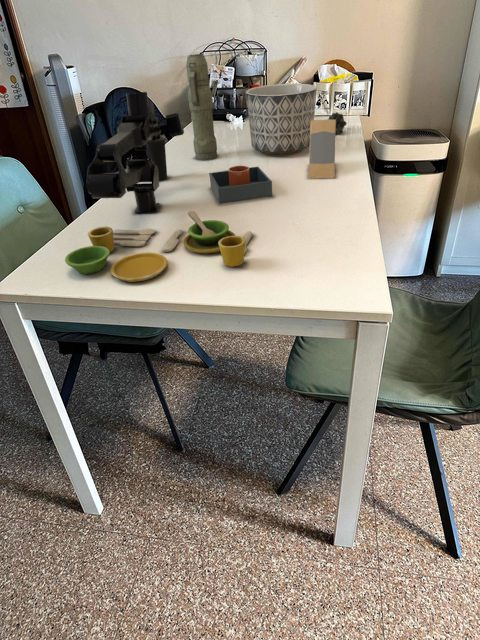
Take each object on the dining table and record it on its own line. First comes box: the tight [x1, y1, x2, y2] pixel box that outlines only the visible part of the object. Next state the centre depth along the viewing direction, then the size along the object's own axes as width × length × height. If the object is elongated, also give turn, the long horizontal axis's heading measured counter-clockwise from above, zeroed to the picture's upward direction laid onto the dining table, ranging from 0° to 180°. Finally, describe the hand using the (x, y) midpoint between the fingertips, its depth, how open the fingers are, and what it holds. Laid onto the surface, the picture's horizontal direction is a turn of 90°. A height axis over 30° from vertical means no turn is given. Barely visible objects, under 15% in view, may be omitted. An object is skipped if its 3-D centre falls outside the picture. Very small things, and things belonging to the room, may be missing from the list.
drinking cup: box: [145, 134, 168, 182], centre depth 152 cm, size 8×8×20 cm
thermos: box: [185, 53, 218, 161], centre depth 167 cm, size 9×12×35 cm
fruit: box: [327, 112, 348, 135], centre depth 194 cm, size 9×8×15 cm
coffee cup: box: [227, 165, 250, 186], centre depth 138 cm, size 6×6×7 cm
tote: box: [208, 166, 273, 205], centre depth 139 cm, size 16×16×5 cm
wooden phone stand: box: [308, 119, 337, 179], centre depth 148 cm, size 9×15×15 cm, turn 172°
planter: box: [245, 83, 318, 157], centre depth 171 cm, size 26×26×22 cm
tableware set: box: [64, 209, 254, 283], centre depth 106 cm, size 41×28×6 cm
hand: (160, 128), depth 145 cm, fingers open, 9 cm apart
